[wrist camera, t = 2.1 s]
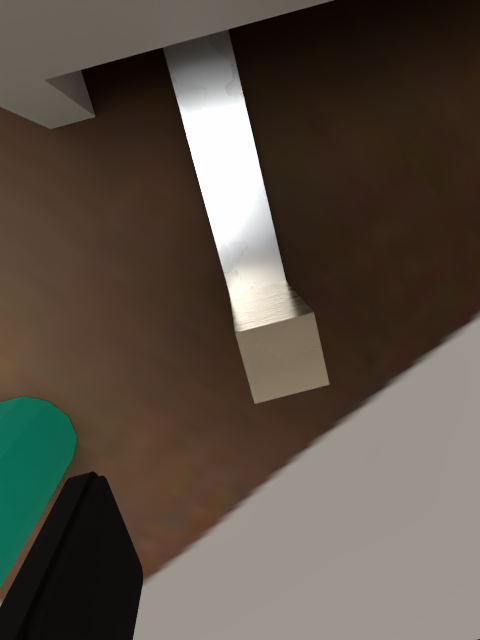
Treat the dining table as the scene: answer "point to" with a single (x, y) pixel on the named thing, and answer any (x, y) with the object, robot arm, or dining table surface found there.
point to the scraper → (243, 222)
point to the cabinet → (100, 43)
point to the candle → (29, 468)
